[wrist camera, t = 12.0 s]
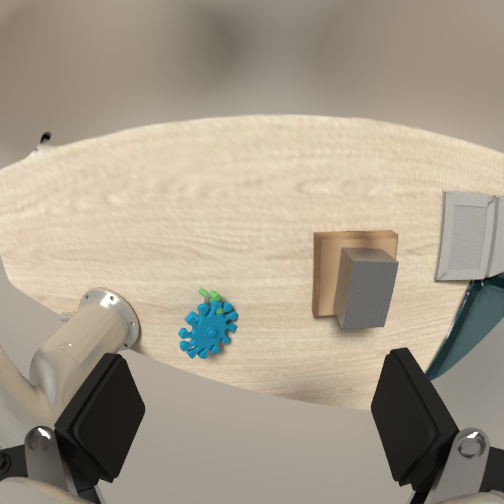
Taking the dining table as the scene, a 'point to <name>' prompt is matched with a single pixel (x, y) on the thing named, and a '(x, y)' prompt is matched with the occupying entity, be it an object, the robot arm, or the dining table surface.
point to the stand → (329, 259)
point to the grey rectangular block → (364, 287)
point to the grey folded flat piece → (470, 236)
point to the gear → (207, 326)
